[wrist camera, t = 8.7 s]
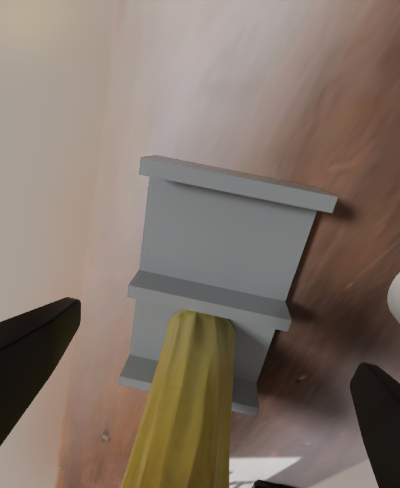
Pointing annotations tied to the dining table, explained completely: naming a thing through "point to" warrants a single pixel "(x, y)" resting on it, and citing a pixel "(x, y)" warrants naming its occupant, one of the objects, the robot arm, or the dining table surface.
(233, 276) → the tiered shelf
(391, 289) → the coffee cup
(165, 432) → the vase
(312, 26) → the dining table surface
